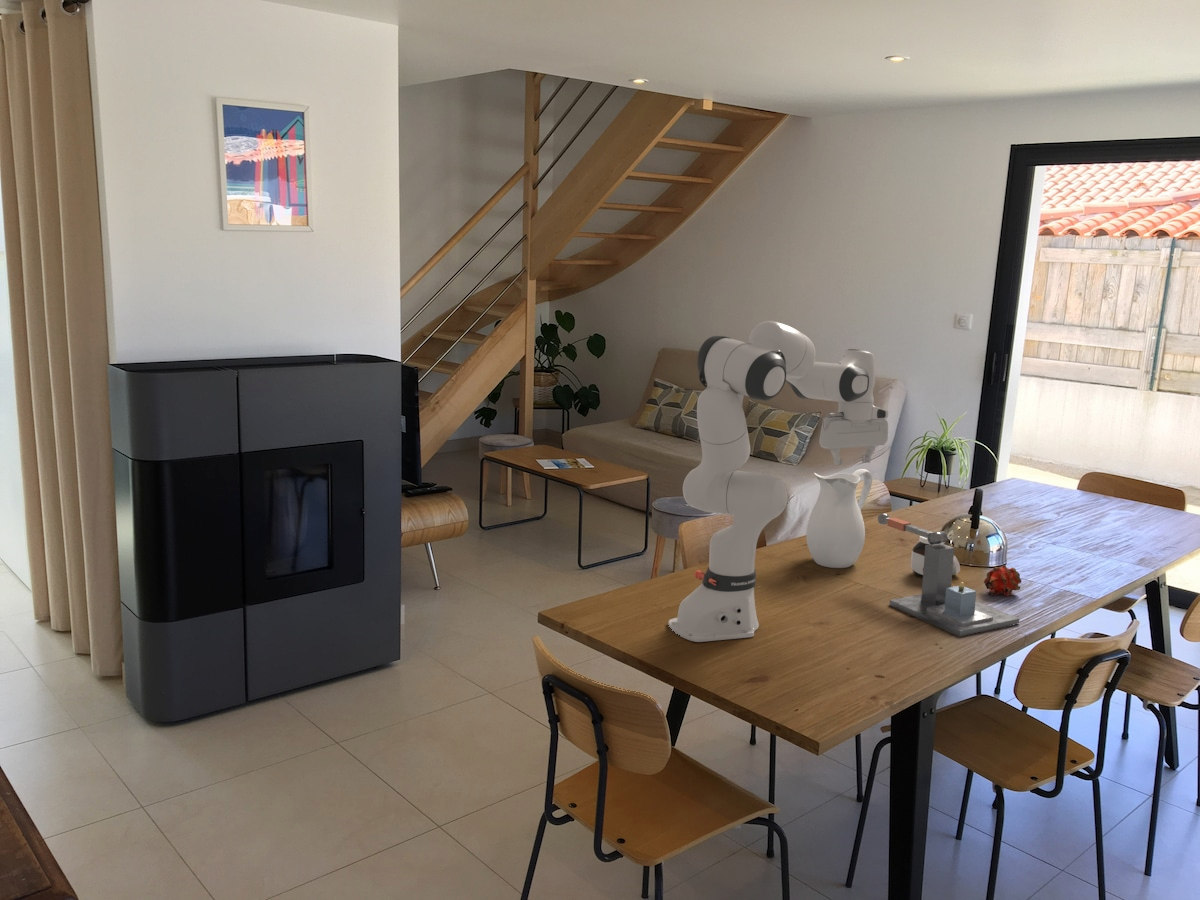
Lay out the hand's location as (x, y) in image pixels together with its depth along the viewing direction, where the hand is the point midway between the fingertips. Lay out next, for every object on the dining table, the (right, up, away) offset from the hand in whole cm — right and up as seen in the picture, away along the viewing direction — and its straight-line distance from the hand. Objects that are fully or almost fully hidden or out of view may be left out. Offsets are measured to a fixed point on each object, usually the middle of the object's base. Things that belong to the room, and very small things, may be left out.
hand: (852, 463), depth 250 cm
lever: (+17, -19, +5) cm, 26 cm away
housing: (+24, -37, -12) cm, 46 cm away
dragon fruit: (+43, -36, +9) cm, 57 cm away
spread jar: (+31, -33, +25) cm, 51 cm away
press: (+24, -39, -7) cm, 46 cm away
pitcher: (+7, -30, +37) cm, 48 cm away
